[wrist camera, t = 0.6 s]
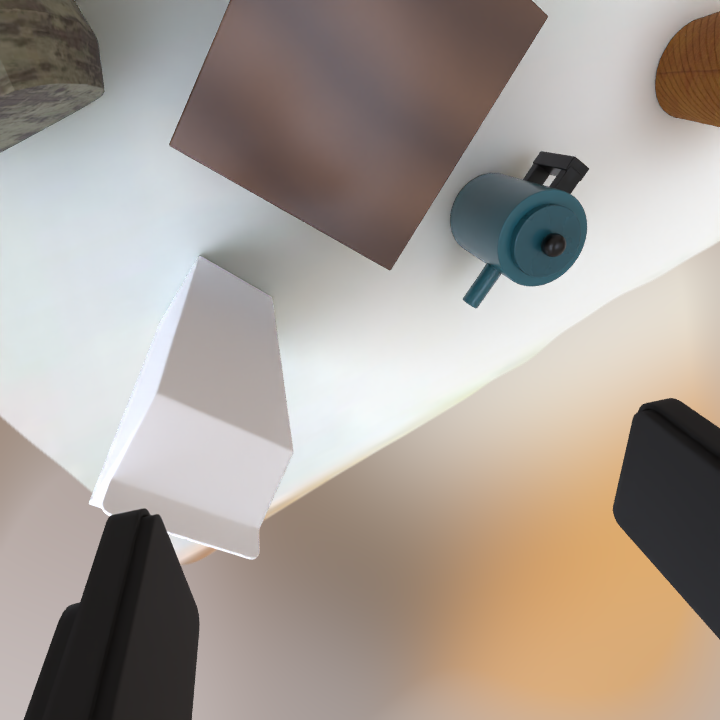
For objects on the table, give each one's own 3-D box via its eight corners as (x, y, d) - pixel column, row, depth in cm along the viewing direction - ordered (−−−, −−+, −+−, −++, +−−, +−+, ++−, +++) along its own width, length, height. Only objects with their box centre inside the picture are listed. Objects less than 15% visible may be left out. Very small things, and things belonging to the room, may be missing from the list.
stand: (295, -111, 26) (319, -210, 18) (468, 39, 31) (549, 16, 23) (189, 134, 31) (168, 145, 22) (356, 232, 36) (390, 271, 27)
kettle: (498, 129, 34) (583, 137, 26) (556, 175, 37) (650, 196, 28) (413, 263, 38) (463, 310, 29) (471, 297, 40) (533, 349, 32)
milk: (199, 253, 34) (139, 439, 15) (273, 296, 37) (305, 503, 18) (158, 322, 36) (58, 570, 17) (233, 359, 38) (220, 611, 19)
